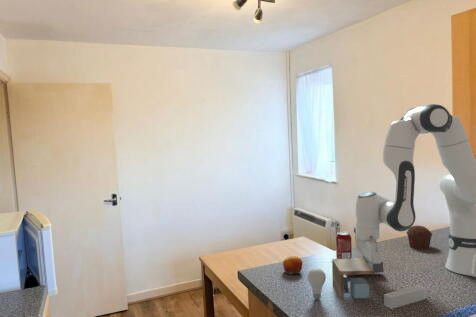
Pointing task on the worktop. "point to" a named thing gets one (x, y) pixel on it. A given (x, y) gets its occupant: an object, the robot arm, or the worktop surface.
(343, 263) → the shelf
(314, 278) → the lightbulb
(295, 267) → the fruit
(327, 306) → the worktop surface
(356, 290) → the block
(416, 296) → the grey stick
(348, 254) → the soda can
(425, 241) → the muffin
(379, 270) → the hook tool
